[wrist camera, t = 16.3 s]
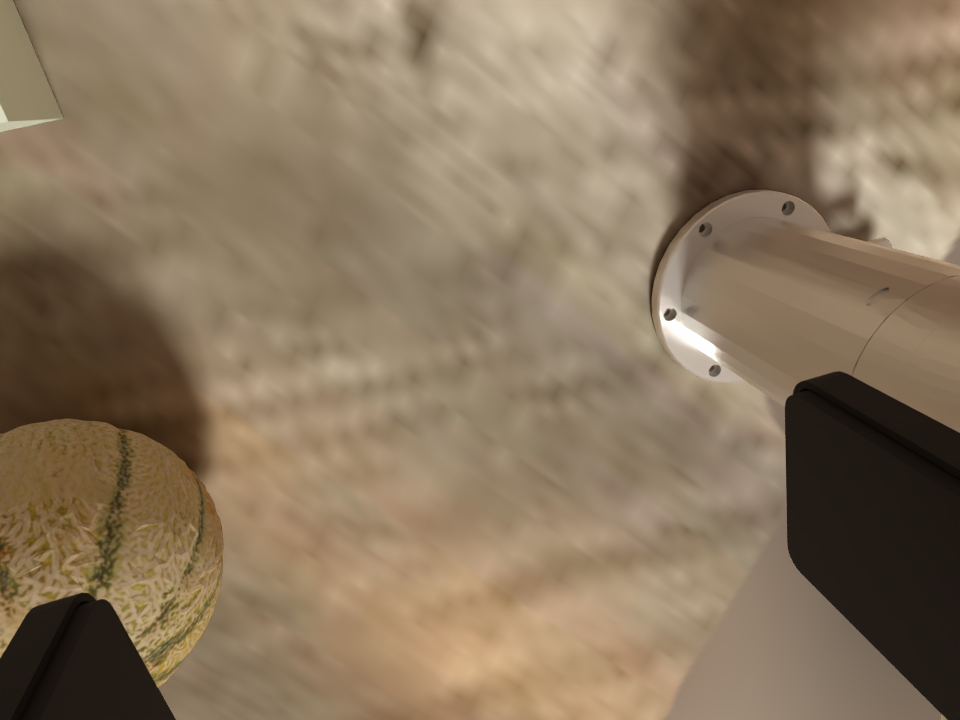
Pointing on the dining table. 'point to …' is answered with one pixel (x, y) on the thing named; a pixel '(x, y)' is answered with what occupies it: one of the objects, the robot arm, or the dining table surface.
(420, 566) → the dining table surface
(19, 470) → the cantaloupe
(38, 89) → the block
